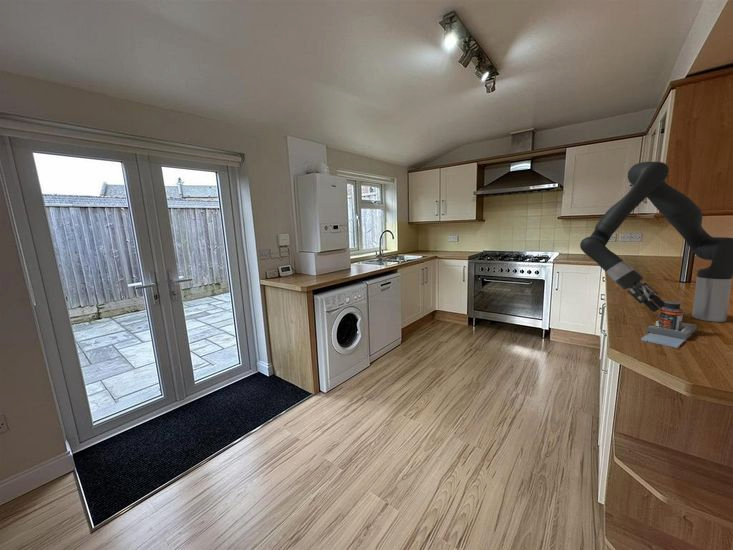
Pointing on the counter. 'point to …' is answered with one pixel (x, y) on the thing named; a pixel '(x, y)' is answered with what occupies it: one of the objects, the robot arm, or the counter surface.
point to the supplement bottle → (670, 316)
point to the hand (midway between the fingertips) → (660, 308)
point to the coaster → (663, 340)
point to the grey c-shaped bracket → (674, 331)
